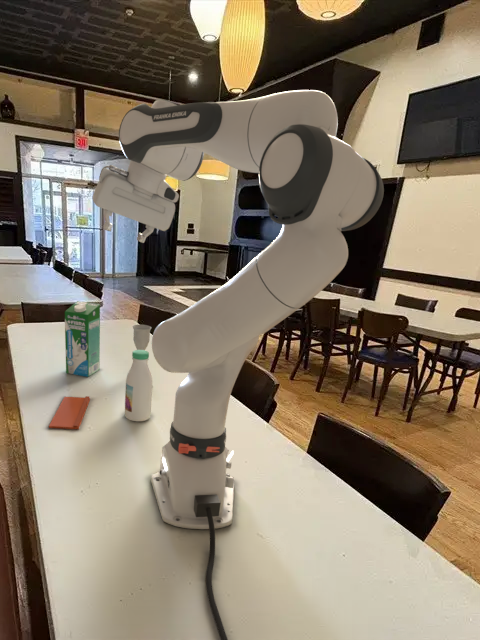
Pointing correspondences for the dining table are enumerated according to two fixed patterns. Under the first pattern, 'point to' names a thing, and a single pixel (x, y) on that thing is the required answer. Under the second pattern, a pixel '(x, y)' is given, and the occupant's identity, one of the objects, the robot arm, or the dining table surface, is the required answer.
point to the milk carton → (82, 338)
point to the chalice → (141, 336)
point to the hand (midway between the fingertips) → (123, 235)
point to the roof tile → (70, 413)
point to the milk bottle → (138, 388)
